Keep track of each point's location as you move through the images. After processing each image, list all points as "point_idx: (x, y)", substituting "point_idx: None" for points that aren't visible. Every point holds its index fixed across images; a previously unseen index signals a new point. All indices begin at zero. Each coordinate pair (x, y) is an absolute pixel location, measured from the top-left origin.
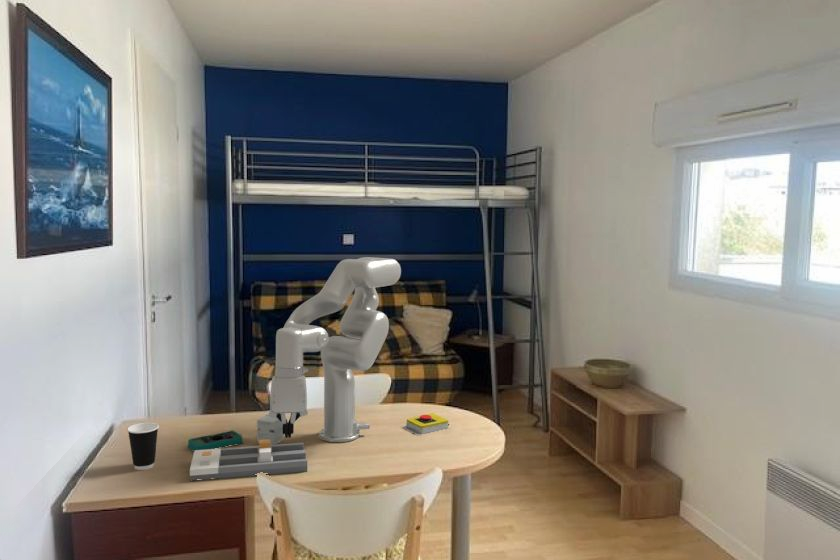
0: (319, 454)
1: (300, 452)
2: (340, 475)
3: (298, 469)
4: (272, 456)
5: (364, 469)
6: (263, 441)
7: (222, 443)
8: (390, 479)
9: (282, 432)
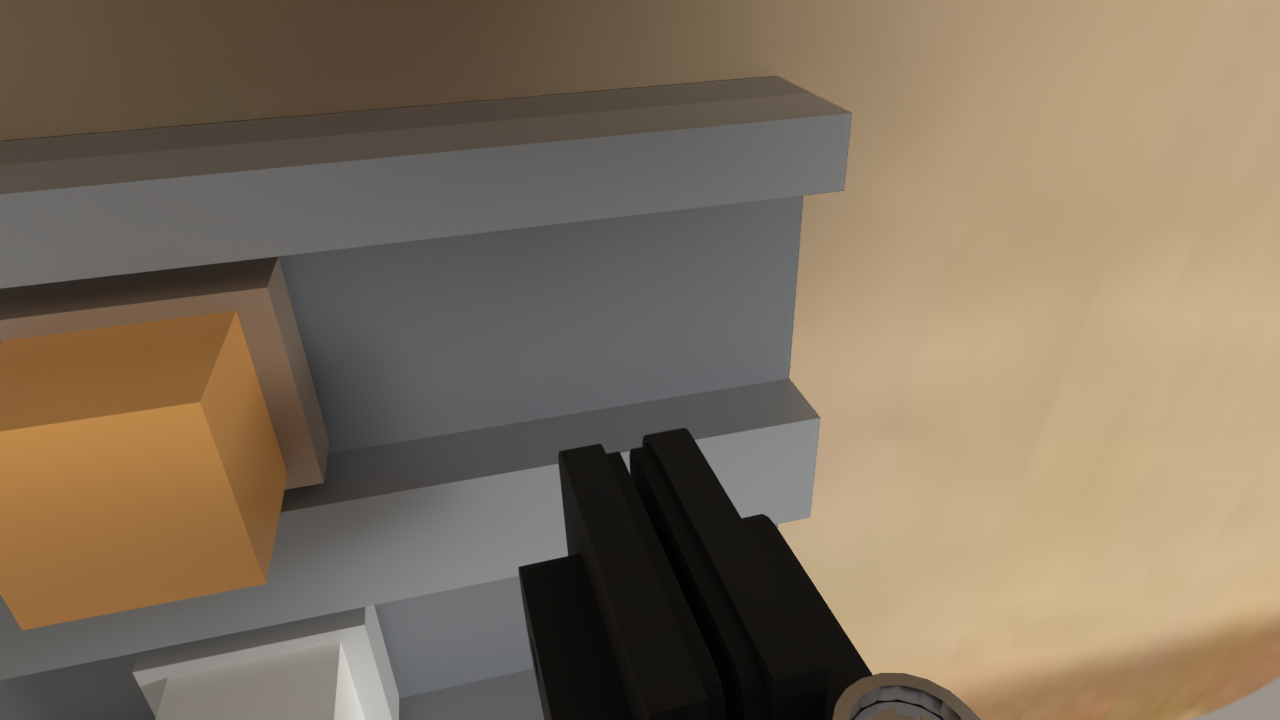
0: (963, 171)
1: (747, 505)
2: (984, 649)
3: None
4: (364, 633)
5: (1188, 547)
6: (79, 533)
7: None
8: (1243, 673)
9: (521, 582)
